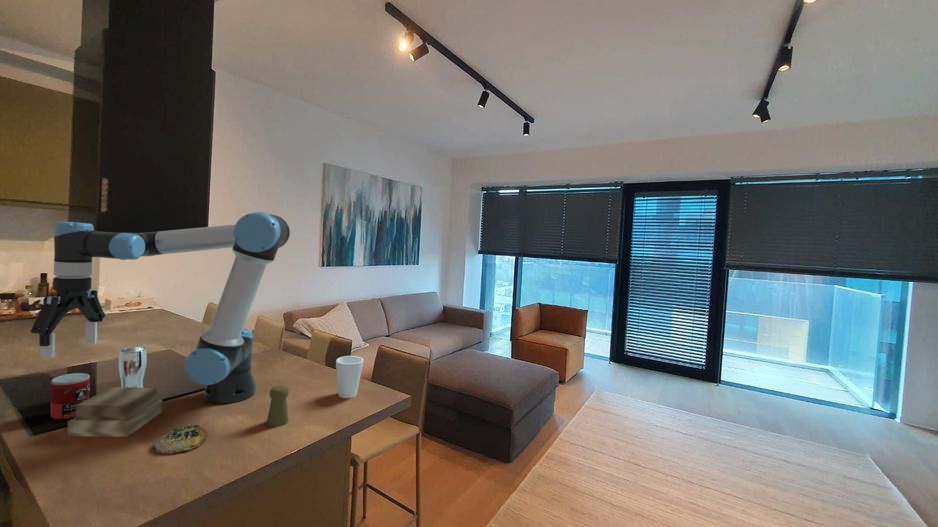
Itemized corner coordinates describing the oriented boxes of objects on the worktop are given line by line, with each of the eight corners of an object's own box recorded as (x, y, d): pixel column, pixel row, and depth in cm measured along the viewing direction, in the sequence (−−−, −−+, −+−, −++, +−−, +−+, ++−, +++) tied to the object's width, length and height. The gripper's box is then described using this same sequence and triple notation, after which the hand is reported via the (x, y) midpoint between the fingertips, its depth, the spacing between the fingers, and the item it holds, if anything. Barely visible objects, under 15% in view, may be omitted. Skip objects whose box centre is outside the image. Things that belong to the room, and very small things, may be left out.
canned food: (64, 423, 104) (64, 384, 104) (42, 418, 106) (43, 380, 105) (96, 411, 112) (97, 375, 111) (75, 406, 113) (76, 371, 113)
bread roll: (200, 428, 107) (200, 412, 107) (212, 449, 101) (213, 432, 100) (149, 443, 99) (150, 426, 98) (159, 467, 92) (160, 449, 91)
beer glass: (117, 399, 120) (118, 353, 119) (118, 392, 125) (119, 348, 124) (145, 395, 124) (147, 350, 123) (145, 387, 129) (147, 345, 129)
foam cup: (364, 391, 142) (367, 357, 141) (355, 401, 132) (357, 365, 132) (340, 388, 142) (343, 354, 142) (329, 398, 133) (331, 362, 133)
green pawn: (293, 420, 116) (295, 385, 115) (277, 428, 110) (279, 392, 110) (278, 415, 118) (279, 381, 117) (261, 423, 112) (263, 388, 112)
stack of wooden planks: (162, 412, 114) (163, 386, 114) (127, 436, 100) (127, 407, 100) (110, 411, 112) (111, 385, 112) (67, 436, 98) (68, 406, 98)
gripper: (95, 271, 118) (92, 337, 119) (10, 280, 94) (8, 363, 95) (121, 273, 119) (119, 338, 121) (45, 282, 95) (42, 364, 96)
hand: (70, 349), depth 108 cm, fingers open, 13 cm apart
